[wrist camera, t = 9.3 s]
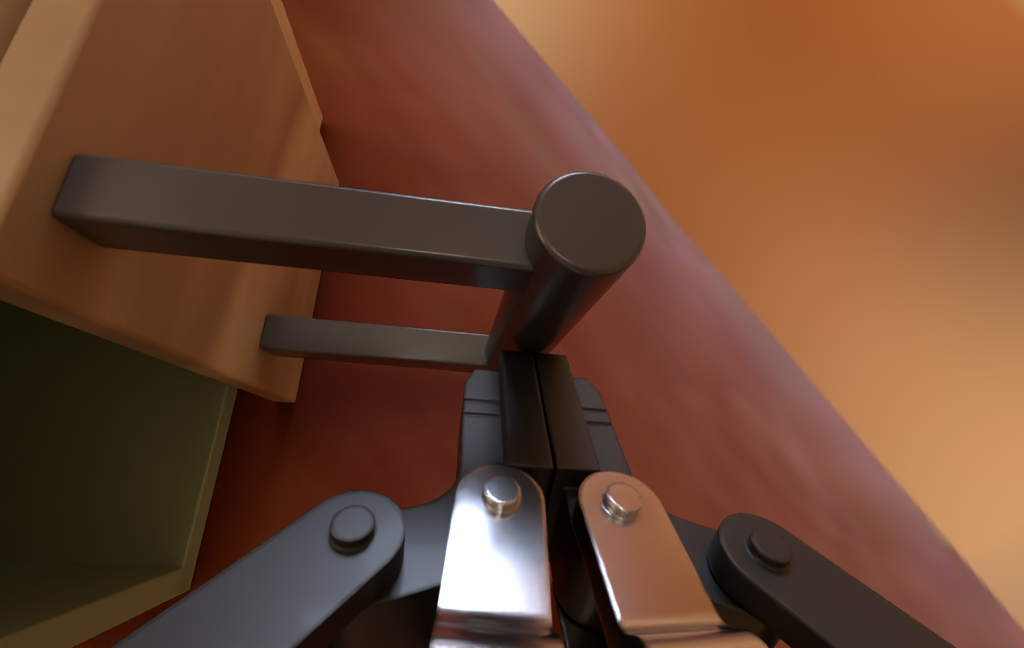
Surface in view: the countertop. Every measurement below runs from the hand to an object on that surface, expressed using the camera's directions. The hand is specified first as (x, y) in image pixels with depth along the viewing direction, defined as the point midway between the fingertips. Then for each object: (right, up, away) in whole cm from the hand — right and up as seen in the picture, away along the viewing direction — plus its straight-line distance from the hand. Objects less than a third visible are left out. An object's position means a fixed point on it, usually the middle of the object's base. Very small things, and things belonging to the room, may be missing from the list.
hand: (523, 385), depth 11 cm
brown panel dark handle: (-4, +3, +7) cm, 9 cm away
